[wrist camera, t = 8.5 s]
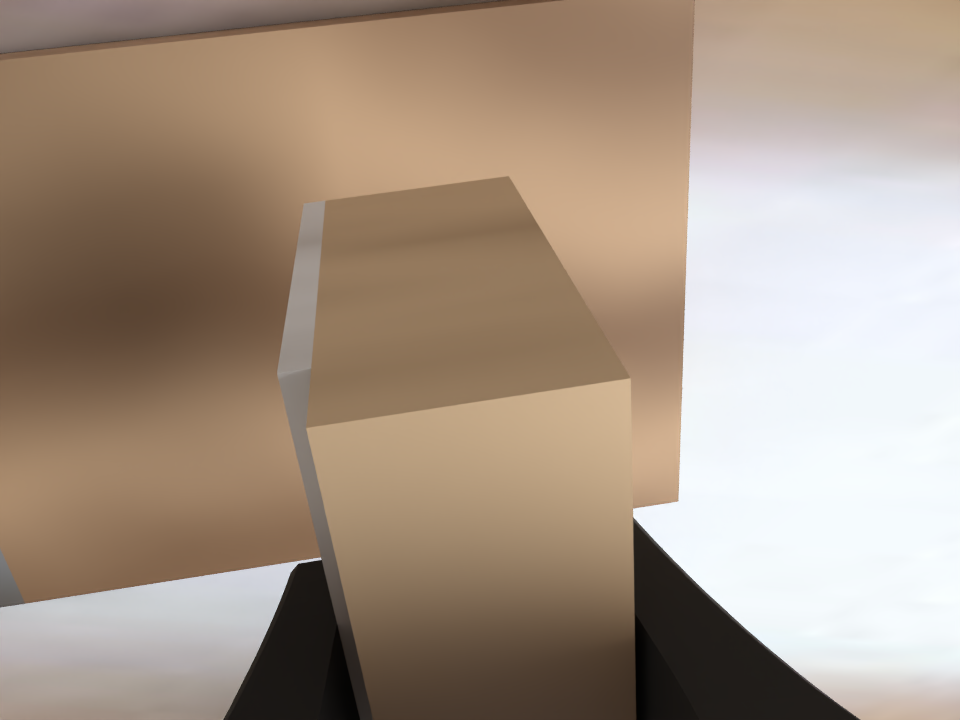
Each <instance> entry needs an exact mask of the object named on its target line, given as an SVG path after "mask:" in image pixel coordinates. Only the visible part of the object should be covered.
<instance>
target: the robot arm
mask: <svg viewBox="0 0 960 720" xmlns="http://www.w3.org/2000/svg"><path fill="white" fill-rule="evenodd" d="M633 550H634V614H635V677H636V720H860V719H859V718H857V717H856V716H854V715H853V714H852V713H850V712H849V711H847V710H846V709H845V708H843V707H842V706H840V705H839V704H838V703H836V702H835V701H834V700H832V699H831V698H830V697H828V696H827V695H826V694H824V693H823V692H822V691H820V690H819V689H818V688H817V687H815V686H814V685H813V684H811V683H810V682H809V681H808V680H806V679H805V678H804V677H803V676H801V675H800V674H799V673H798V672H796V671H795V670H794V669H793V668H791V667H790V666H789V665H788V664H787V663H785V662H784V661H783V660H782V659H781V658H779V657H778V656H777V655H776V654H774V653H773V652H772V651H771V650H770V649H768V648H767V647H766V646H765V645H764V644H763V643H761V642H760V641H759V640H758V639H757V638H756V637H754V636H753V635H752V634H751V633H750V632H749V631H748V630H746V629H745V628H744V627H743V626H742V625H741V624H740V623H739V622H738V621H736V620H735V619H734V618H733V617H732V616H731V615H730V614H729V613H728V612H727V611H726V610H724V609H723V608H722V607H721V606H720V605H719V604H718V603H717V602H716V601H715V600H714V599H713V598H711V597H710V596H709V595H708V594H707V593H706V592H705V591H704V590H703V589H702V588H701V587H700V586H699V585H698V584H697V583H696V582H695V581H694V580H693V579H692V578H691V577H690V576H689V575H688V574H687V573H686V572H685V571H684V570H683V569H682V568H681V567H680V566H679V565H678V564H677V563H676V562H675V561H674V560H673V559H672V558H671V557H670V556H669V555H668V554H667V553H666V552H665V551H664V550H663V549H662V548H661V547H660V546H659V545H658V544H657V543H656V542H655V541H654V540H653V538H652V537H651V536H650V535H649V534H648V533H647V532H646V531H645V530H644V529H643V528H642V527H641V525H640V524H639V523H638V522H637V521H636V520H635V519H634V518H633ZM224 720H360V717H359V713H358V709H357V704H356V700H355V696H354V692H353V688H352V684H351V679H350V675H349V671H348V667H347V663H346V659H345V655H344V650H343V646H342V642H341V638H340V634H339V630H338V625H337V621H336V617H335V613H334V609H333V605H332V600H331V596H330V592H329V588H328V584H327V580H326V575H325V571H324V567H323V563H322V560H319V561H313V562H307V563H301V564H298V565H297V566H296V567H295V568H294V570H293V571H292V572H291V574H290V577H289V580H288V582H287V585H286V588H285V590H284V593H283V595H282V598H281V600H280V603H279V605H278V608H277V610H276V612H275V615H274V617H273V619H272V622H271V624H270V626H269V629H268V631H267V633H266V635H265V637H264V640H263V642H262V644H261V646H260V648H259V650H258V653H257V655H256V657H255V659H254V661H253V663H252V665H251V667H250V669H249V671H248V673H247V675H246V677H245V679H244V681H243V683H242V685H241V687H240V689H239V691H238V693H237V695H236V697H235V699H234V701H233V703H232V705H231V707H230V708H229V710H228V712H227V714H226V716H225V718H224Z"/></svg>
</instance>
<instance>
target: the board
mask: <svg viewBox="0 0 960 720" xmlns="http://www.w3.org/2000/svg"><path fill="white" fill-rule="evenodd" d="M694 6H695V0H504V1H495V2H485V3H476V4H466V5H457V6H447V7H438V8H429V9H419V10H410V11H400V12H391V13H381V14H372V15H362V16H353V17H344V18H334V19H325V20H315V21H306V22H296V23H287V24H277V25H268V26H259V27H249V28H240V29H230V30H221V31H211V32H202V33H192V34H183V35H174V36H164V37H155V38H145V39H136V40H126V41H117V42H108V43H98V44H89V45H79V46H70V47H60V48H51V49H41V50H32V51H23V52H13V53H4V54H0V607H6V606H12V605H19V604H25V603H31V602H38V601H44V600H51V599H57V598H63V597H70V596H76V595H83V594H89V593H95V592H102V591H108V590H115V589H121V588H127V587H134V586H140V585H147V584H153V583H159V582H166V581H172V580H179V579H185V578H191V577H198V576H204V575H210V574H217V573H223V572H230V571H236V570H242V569H249V568H255V567H262V566H268V565H274V564H281V563H287V562H294V561H300V560H306V559H313V558H319V557H321V555H320V550H319V546H318V542H317V538H316V534H315V530H314V525H313V521H312V517H311V513H310V509H309V505H308V500H307V496H306V492H305V488H304V484H303V480H302V475H301V471H300V467H299V463H298V459H297V455H296V450H295V446H294V442H293V438H292V434H291V430H290V425H289V421H288V417H287V413H286V409H285V405H284V400H283V396H282V392H281V388H280V384H279V380H278V375H277V370H278V364H279V357H280V351H281V345H282V338H283V332H284V326H285V319H286V313H287V307H288V300H289V294H290V288H291V281H292V275H293V269H294V262H295V256H296V250H297V243H298V237H299V231H300V224H301V218H302V212H303V205H304V203H312V202H319V201H326V200H334V199H341V198H349V197H356V196H364V195H371V194H378V193H386V192H393V191H401V190H408V189H416V188H423V187H430V186H438V185H445V184H453V183H460V182H468V181H475V180H482V179H490V178H497V177H505V176H509V177H510V179H511V180H512V182H513V184H514V185H515V187H516V189H517V190H518V192H519V194H520V195H521V197H522V199H523V200H524V202H525V204H526V205H527V207H528V209H529V210H530V212H531V214H532V215H533V217H534V219H535V220H536V222H537V224H538V225H539V227H540V229H541V230H542V232H543V234H544V235H545V237H546V238H547V240H548V242H549V243H550V245H551V247H552V248H553V250H554V252H555V253H556V255H557V257H558V258H559V260H560V262H561V263H562V265H563V267H564V268H565V270H566V272H567V273H568V275H569V277H570V278H571V280H572V282H573V283H574V285H575V287H576V288H577V290H578V292H579V293H580V295H581V297H582V298H583V300H584V302H585V303H586V305H587V306H588V308H589V310H590V311H591V313H592V315H593V316H594V318H595V320H596V321H597V323H598V325H599V326H600V328H601V330H602V331H603V333H604V335H605V336H606V338H607V340H608V341H609V343H610V345H611V346H612V348H613V350H614V351H615V353H616V355H617V356H618V358H619V360H620V361H621V363H622V365H623V366H624V368H625V369H626V371H627V373H628V374H629V376H630V378H631V423H632V487H633V508H639V507H645V506H652V505H658V504H664V503H671V502H677V501H678V493H679V462H680V432H681V401H682V371H683V341H684V310H685V280H686V249H687V219H688V189H689V158H690V128H691V97H692V67H693V37H694Z"/></svg>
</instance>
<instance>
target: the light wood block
mask: <svg viewBox="0 0 960 720" xmlns="http://www.w3.org/2000/svg"><path fill="white" fill-rule="evenodd" d="M277 375H278V380H279V384H280V388H281V392H282V396H283V400H284V405H285V409H286V413H287V417H288V421H289V425H290V430H291V434H292V438H293V442H294V446H295V450H296V455H297V459H298V463H299V467H300V471H301V475H302V480H303V484H304V488H305V492H306V496H307V500H308V505H309V509H310V513H311V517H312V521H313V525H314V530H315V534H316V538H317V542H318V546H319V550H320V555H321V559H322V563H323V567H324V571H325V575H326V580H327V584H328V588H329V592H330V596H331V600H332V605H333V609H334V613H335V617H336V621H337V625H338V630H339V634H340V638H341V642H342V646H343V650H344V655H345V659H346V663H347V667H348V671H349V675H350V679H351V684H352V688H353V692H354V696H355V700H356V704H357V709H358V713H359V717H360V720H636V677H635V614H634V550H633V487H632V423H631V378H630V376H629V374H628V373H627V371H626V369H625V368H624V366H623V365H622V363H621V361H620V360H619V358H618V356H617V355H616V353H615V351H614V350H613V348H612V346H611V345H610V343H609V341H608V340H607V338H606V336H605V335H604V333H603V331H602V330H601V328H600V326H599V325H598V323H597V321H596V320H595V318H594V316H593V315H592V313H591V311H590V310H589V308H588V306H587V305H586V303H585V302H584V300H583V298H582V297H581V295H580V293H579V292H578V290H577V288H576V287H575V285H574V283H573V282H572V280H571V278H570V277H569V275H568V273H567V272H566V270H565V268H564V267H563V265H562V263H561V262H560V260H559V258H558V257H557V255H556V253H555V252H554V250H553V248H552V247H551V245H550V243H549V242H548V240H547V238H546V237H545V235H544V234H543V232H542V230H541V229H540V227H539V225H538V224H537V222H536V220H535V219H534V217H533V215H532V214H531V212H530V210H529V209H528V207H527V205H526V204H525V202H524V200H523V199H522V197H521V195H520V194H519V192H518V190H517V189H516V187H515V185H514V184H513V182H512V180H511V179H510V177H509V176H505V177H497V178H490V179H482V180H475V181H468V182H460V183H453V184H445V185H438V186H430V187H423V188H416V189H408V190H401V191H393V192H386V193H378V194H371V195H364V196H356V197H349V198H341V199H334V200H326V201H319V202H312V203H304V205H303V212H302V218H301V224H300V231H299V237H298V243H297V250H296V256H295V262H294V269H293V275H292V281H291V288H290V294H289V300H288V307H287V313H286V319H285V326H284V332H283V338H282V345H281V351H280V357H279V364H278V370H277Z"/></svg>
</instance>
